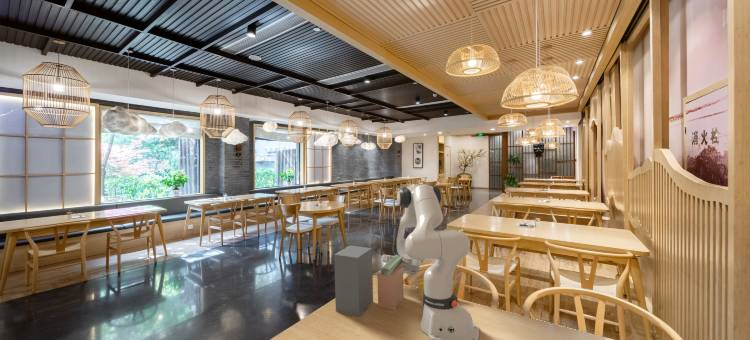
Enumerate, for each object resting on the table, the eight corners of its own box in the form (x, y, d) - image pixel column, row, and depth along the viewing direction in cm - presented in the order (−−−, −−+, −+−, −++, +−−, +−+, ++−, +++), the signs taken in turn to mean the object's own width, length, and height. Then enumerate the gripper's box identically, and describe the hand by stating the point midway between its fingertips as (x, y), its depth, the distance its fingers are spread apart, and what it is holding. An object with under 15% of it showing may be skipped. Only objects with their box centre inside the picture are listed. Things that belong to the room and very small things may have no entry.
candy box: (419, 300, 134) (419, 283, 134) (419, 298, 137) (418, 281, 136) (453, 300, 134) (453, 283, 134) (452, 298, 136) (452, 281, 136)
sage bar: (403, 261, 143) (403, 255, 143) (389, 276, 126) (388, 269, 126) (395, 260, 145) (395, 254, 145) (380, 274, 128) (380, 268, 128)
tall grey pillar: (373, 301, 134) (371, 248, 133) (359, 317, 122) (357, 257, 120) (351, 297, 139) (350, 245, 138) (335, 311, 127) (334, 254, 126)
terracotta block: (403, 297, 138) (402, 266, 137) (394, 310, 126) (393, 276, 126) (388, 294, 141) (387, 264, 140) (378, 306, 130) (377, 273, 129)
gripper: (387, 255, 157) (378, 249, 146) (423, 260, 148) (416, 254, 137) (385, 266, 154) (376, 261, 143) (422, 272, 146) (415, 267, 135)
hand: (396, 258), depth 140 cm, fingers open, 5 cm apart
